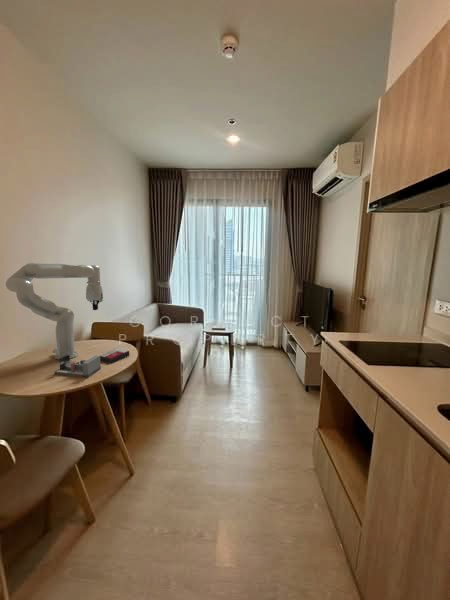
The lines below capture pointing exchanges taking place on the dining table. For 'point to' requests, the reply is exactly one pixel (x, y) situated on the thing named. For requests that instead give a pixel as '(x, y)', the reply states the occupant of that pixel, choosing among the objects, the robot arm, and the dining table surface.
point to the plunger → (65, 362)
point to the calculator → (114, 355)
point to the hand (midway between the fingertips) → (95, 309)
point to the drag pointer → (72, 367)
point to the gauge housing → (82, 368)
